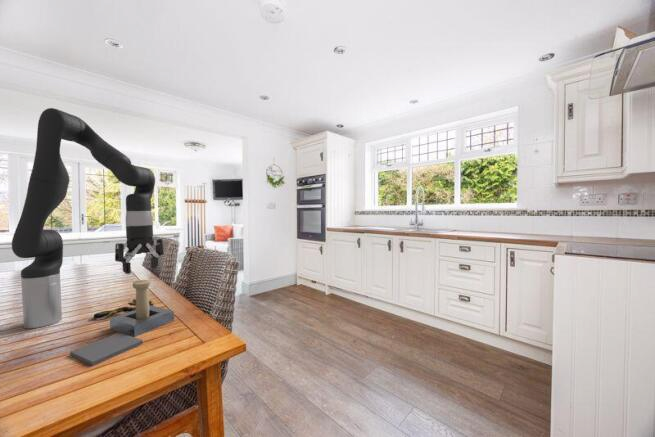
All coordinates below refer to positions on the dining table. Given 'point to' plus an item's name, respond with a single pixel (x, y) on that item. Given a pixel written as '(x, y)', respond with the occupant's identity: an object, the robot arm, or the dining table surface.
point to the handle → (142, 298)
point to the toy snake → (118, 310)
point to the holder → (141, 321)
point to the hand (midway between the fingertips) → (141, 270)
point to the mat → (105, 348)
